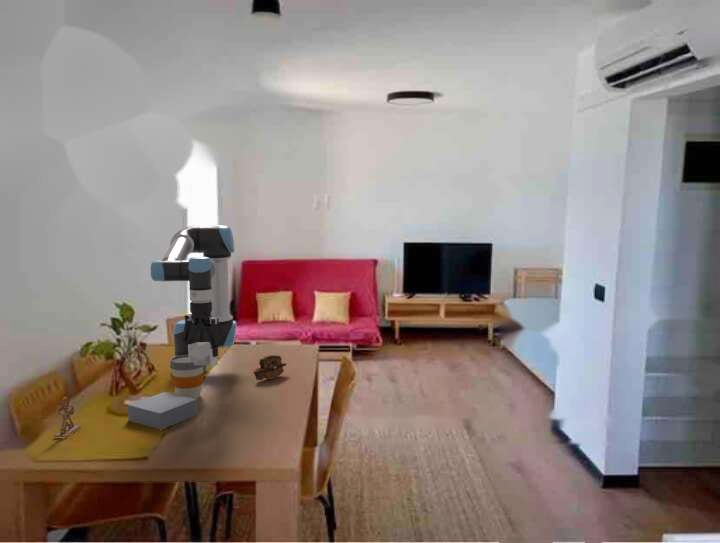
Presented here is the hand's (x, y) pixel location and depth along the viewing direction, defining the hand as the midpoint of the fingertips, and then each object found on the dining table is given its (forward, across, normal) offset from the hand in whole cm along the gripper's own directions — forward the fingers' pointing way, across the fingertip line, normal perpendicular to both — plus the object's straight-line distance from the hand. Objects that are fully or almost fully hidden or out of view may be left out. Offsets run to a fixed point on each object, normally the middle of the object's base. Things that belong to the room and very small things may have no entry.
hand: (202, 363), depth 202 cm
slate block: (+18, -8, -11) cm, 23 cm away
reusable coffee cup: (+18, -16, +9) cm, 26 cm away
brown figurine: (+18, -24, -36) cm, 47 cm away
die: (0, 0, 0) cm, 0 cm away
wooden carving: (+18, -3, +42) cm, 46 cm away
